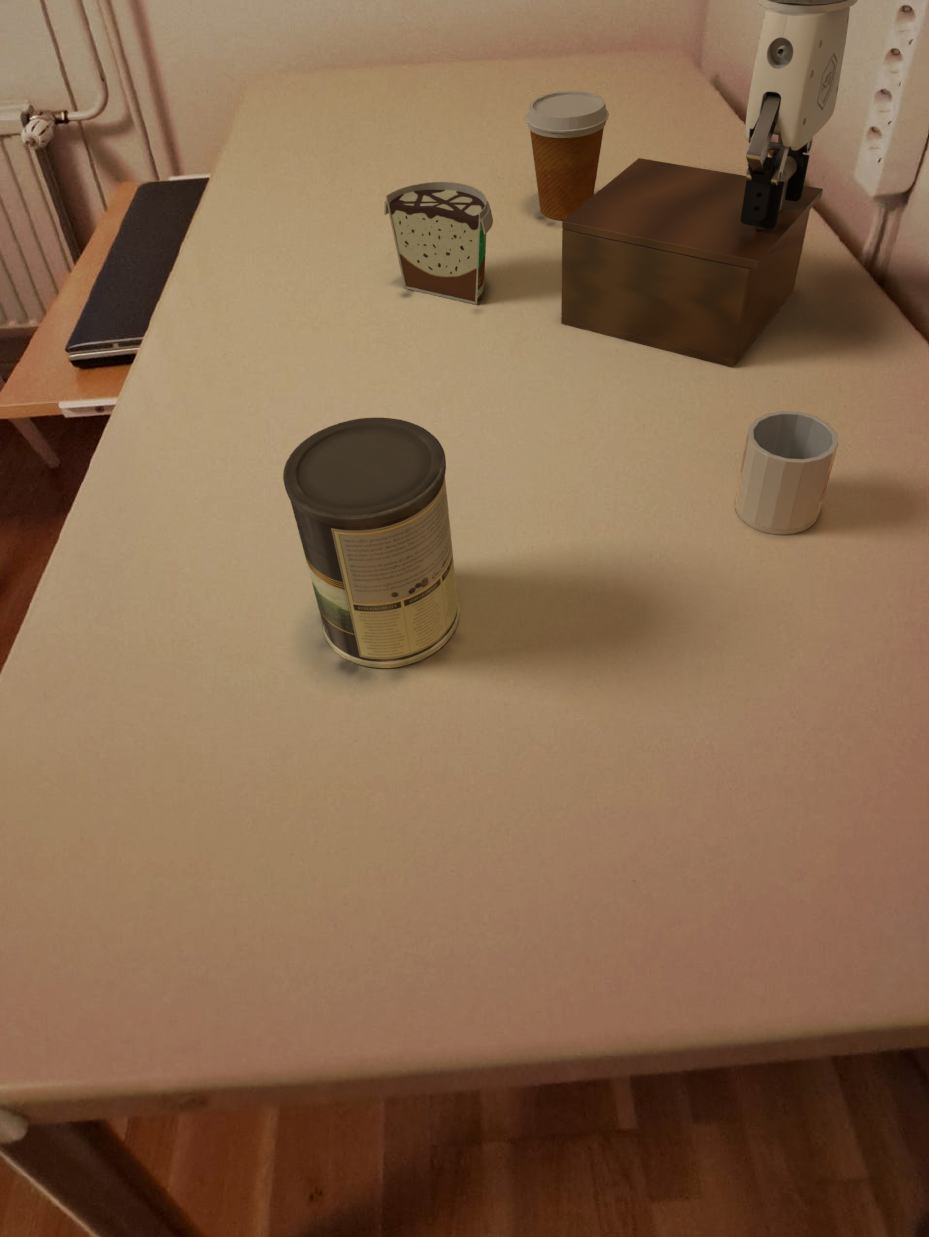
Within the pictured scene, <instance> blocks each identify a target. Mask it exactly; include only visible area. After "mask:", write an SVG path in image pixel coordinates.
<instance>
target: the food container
mask: <svg viewBox="0 0 929 1237" xmlns="http://www.w3.org/2000/svg"><path fill="white" fill-rule="evenodd" d="M385 199H386V200H385V201H384V208H383V209H384V210H383V212H384V214H383V215H384V216H386V215H388V216H389V220H390V224H391V225H390V226H391V230H392V236H393V240H394V246H395V249H396V254H397V260H398V264H399V269H400V274H401V278H402V283H403V288H404V289H406V290H410V291H414V292H418V293H424V294H428V295H432V296H437V297H440V298H445V299H449V300H453V301H457V302H458V301H459V302H463V303H467V304H471V305H476V306H478V305H479V303H480V302H482V300H483V297H484V294H485V277H486V276H485V275H486V274H485V272H486V253H487V252H486V251H487V250H486V249H487V248H486V247H487V233H488V232H489V231H490V230H491V228H492V227H493V224H494V218H493V213H492V209H491V205H490V203H489V201H488V199H487V197H486V195H485V193H483V191H481V190H479V188H476V187H474V186H471V185H469V184H465V183H461V182H453V181H427V182H422V183H415V184H412V185H408V186H404V187H401V188H398V189H396V190H394V191H391V192H390V193H388V194H387V195H385Z"/></svg>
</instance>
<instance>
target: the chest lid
mask: <svg viewBox="0 0 929 1237" xmlns="http://www.w3.org/2000/svg"><path fill="white" fill-rule="evenodd" d="M774 166H775V165H774ZM796 170H797V163H796V161H795V159H794V158H792V157H790V156H787V158H786V162H785V166H784V169H783V173H782V177H781V180H780V181H783V182H784V188H783V194H782V199H781V205H780V211H779V216H778V222H777V225H776V226H775V227H774V228H773V229H767V228H762V227H756V226H751V225H746V224H743V223H742V222H741V213H742V206H743V200H744V193H745V186H746V175H742V174H737V173H731V172H725V171H719V170H713V169H706V168H701V167H695V166H690V165H689V166H688V165H683V164H676V163H672V162H665V161H659V160H653V159H647V158H642V157H641V158H640V157H638V158H637V159H636V160H634V161H633V162H632V163H631V164H630V165H628V166H627V167H626V168H625V169H624V170H623V171H621V172H620V173H618V175H616V176H615V177H614V178H613V179H612V180H610V181H609V182H608V183H607V184H605V185H604V186H603V187H601V189H599V190H598V191H597V192H596V193H594V195H593V196H592V197H591V198H590V199H589V200H587V201H586V202H585V203H584V204H583V205H581V206H580V207H579V208H578V209H576V210H575V211H574V212H573V213H572V214H570V215H569V216H568V217H567V218H566V219H564V220H561V221H562V222H561V229H562V230H563V229H564V230H569V231H574V232H579V233H584V234H588V235H593V236H598V237H603V238H607V239H612V240H617V241H622V242H627V243H631V244H636V245H641V246H646V247H651V248H655V249H660V250H665V251H670V252H674V253H679V254H684V255H689V256H694V257H698V258H703V259H708V260H713V261H717V262H722V263H727V264H732V265H737V266H741V267H746V268H751V269H756V270H758V269H759V268H760V267H761V266H762V265H763V264H764V263H765V261H766V260H767V259H768V258H769V257H770V256H771V254H772V253H773V252H774V251H775V250H776V249H777V247H778V246H779V245H780V244H781V243H782V242H783V240H784V239H785V238H786V237H787V236H788V235H789V234H790V232H791V231H792V230H793V229H794V228H795V227H796V225H797V224H798V223H799V222H800V221H801V220H802V218H803V217H804V216H805V215H806V214H807V213H808V211H809V210H810V211H811V209H812V208H813V207H814V206H815V205H816V203H817V202H818V201H819V200H820V199H821V198H822V194H823V191H824V190H823V188H821V187H816V186H815V187H814V186H808V185H804V187H803V192H802V197H801V198H800V199H799V200H798V201H790V200H785V195H786V190H787V184H788V180H789V179H790V178H791V177H792V175H793V174H794V173H795V172H796Z"/></svg>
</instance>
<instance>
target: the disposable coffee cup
mask: <svg viewBox="0 0 929 1237" xmlns="http://www.w3.org/2000/svg"><path fill="white" fill-rule="evenodd" d="M609 116H610V113H609V111H608V110H607V105H606V100H605V99H604V98H603V97H602V96H601V95H599V94H596V93H593V92H589V91H581V90H564V91H563V90H562V91H555V92H549V93H545V94H543V95H540V96H538V97H536V98H534V99H533V100H531V102H530V103H529V107H528V112H527V113H526V115H525V123H526V124H527V127H528V130H529V132H530V140H531V142H530V143H531V149H532V156H533V164H534V172H535V179H536V185H537V186H536V187H537V195H538V202H539V212H540V213H541V214H542V215H543V216H544V217H546V218H548V219H553V220H557V221H563V220H564V219H566V218H567V217H568V216H569V215H570V214H572V213H573V212H574V211H575V210H576V209H578V208H579V207H580V206H581V205H583V204H584V203H585V202H586V201H587V200H589V199H590V198H591V197H592V196H593V195H595V188H596V182H597V176H598V175H597V174H598V168H599V162H600V156H601V149H602V143H603V135H604V129H605V126H606V125H607V121H608V120H609Z"/></svg>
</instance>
